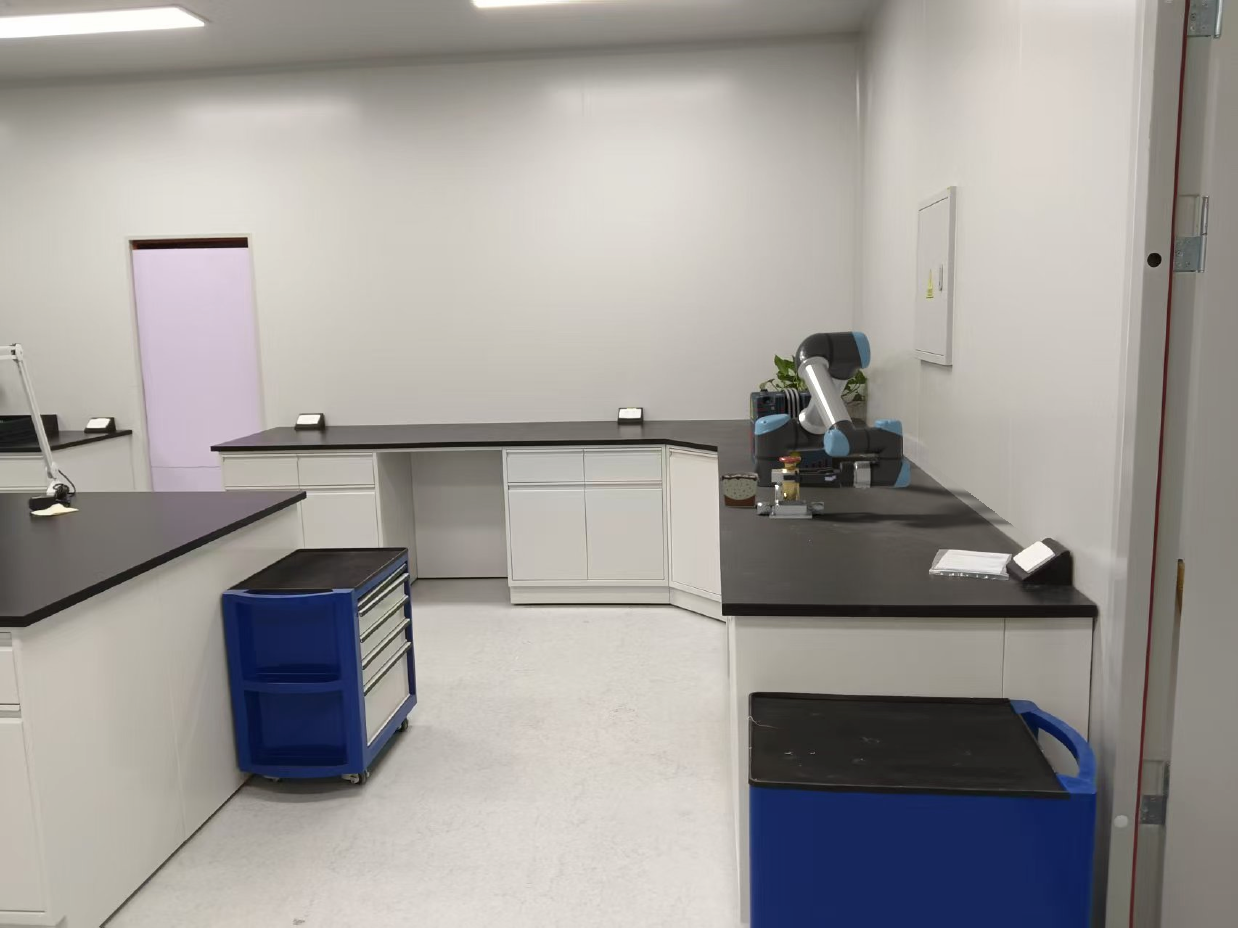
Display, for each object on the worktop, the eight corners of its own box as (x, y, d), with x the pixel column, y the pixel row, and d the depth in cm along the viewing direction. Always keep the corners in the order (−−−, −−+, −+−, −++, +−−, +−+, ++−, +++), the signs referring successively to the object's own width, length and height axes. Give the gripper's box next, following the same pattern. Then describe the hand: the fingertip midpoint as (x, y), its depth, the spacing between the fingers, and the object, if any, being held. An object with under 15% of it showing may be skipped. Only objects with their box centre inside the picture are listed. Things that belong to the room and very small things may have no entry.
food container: (762, 503, 302) (762, 471, 301) (760, 507, 296) (759, 475, 295) (723, 503, 305) (722, 471, 304) (719, 506, 300) (719, 474, 298)
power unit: (750, 460, 392) (749, 385, 388) (819, 457, 391) (819, 383, 386) (758, 471, 364) (756, 390, 360) (832, 468, 363) (831, 388, 359)
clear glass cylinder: (774, 504, 300) (773, 476, 299) (787, 504, 299) (786, 476, 298) (773, 506, 296) (773, 479, 295) (787, 506, 295) (786, 478, 294)
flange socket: (758, 510, 292) (757, 498, 292) (823, 509, 289) (823, 498, 288) (756, 518, 280) (756, 506, 280) (824, 518, 277) (824, 505, 277)
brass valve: (780, 497, 287) (779, 456, 285) (801, 497, 286) (800, 456, 284) (780, 501, 281) (779, 459, 280) (801, 501, 280) (800, 459, 279)
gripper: (856, 493, 271) (771, 493, 276) (852, 482, 289) (772, 483, 293) (855, 466, 270) (771, 467, 274) (851, 457, 288) (772, 458, 292)
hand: (772, 475), depth 284 cm, fingers closed on brass valve, 5 cm apart
